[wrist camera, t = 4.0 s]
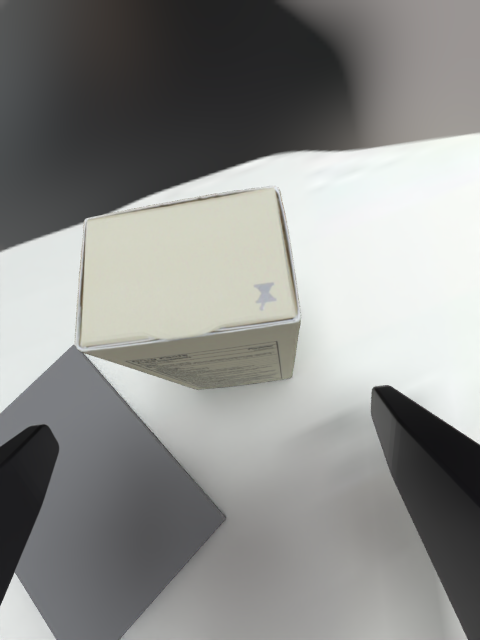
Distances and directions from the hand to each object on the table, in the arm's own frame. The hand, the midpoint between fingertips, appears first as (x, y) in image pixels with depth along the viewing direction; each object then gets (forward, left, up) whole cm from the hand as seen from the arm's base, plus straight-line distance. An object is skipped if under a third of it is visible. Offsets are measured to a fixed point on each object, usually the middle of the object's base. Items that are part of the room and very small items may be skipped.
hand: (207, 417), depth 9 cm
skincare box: (+3, -3, -11) cm, 12 cm away
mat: (+4, +9, -11) cm, 15 cm away
